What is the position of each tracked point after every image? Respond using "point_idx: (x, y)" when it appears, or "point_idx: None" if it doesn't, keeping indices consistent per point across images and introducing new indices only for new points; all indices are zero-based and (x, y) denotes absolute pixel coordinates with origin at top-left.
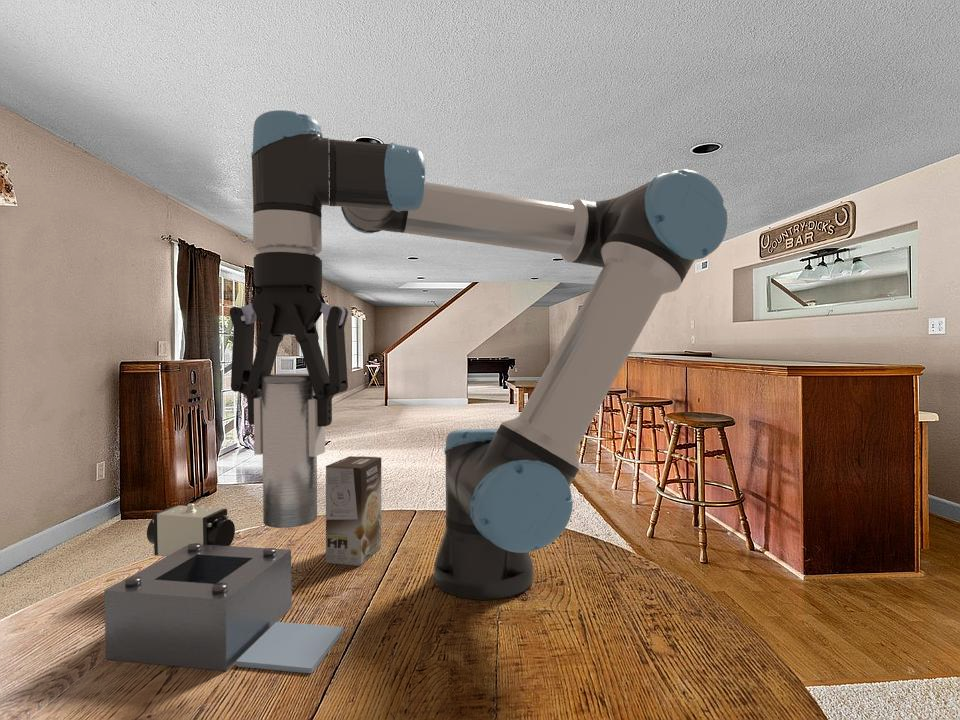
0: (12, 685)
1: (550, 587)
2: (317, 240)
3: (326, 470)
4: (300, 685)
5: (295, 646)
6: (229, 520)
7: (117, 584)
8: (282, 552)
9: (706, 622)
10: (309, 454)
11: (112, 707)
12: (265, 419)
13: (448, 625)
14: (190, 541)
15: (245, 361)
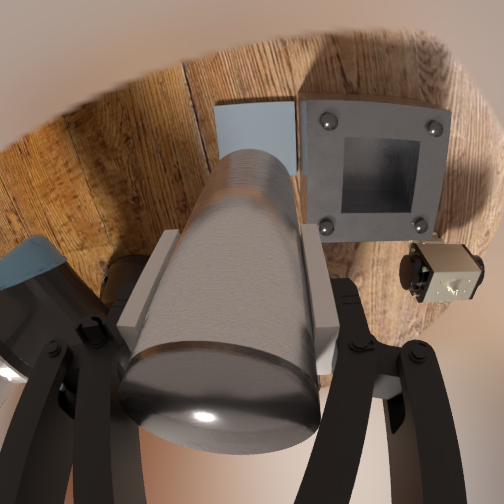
0: (457, 63)
1: (93, 284)
2: None
3: (319, 381)
4: (215, 88)
5: (250, 136)
6: (408, 287)
7: (448, 126)
8: None
9: (6, 252)
10: (175, 230)
11: (361, 34)
12: (271, 255)
13: (136, 209)
14: (436, 254)
15: (407, 455)
